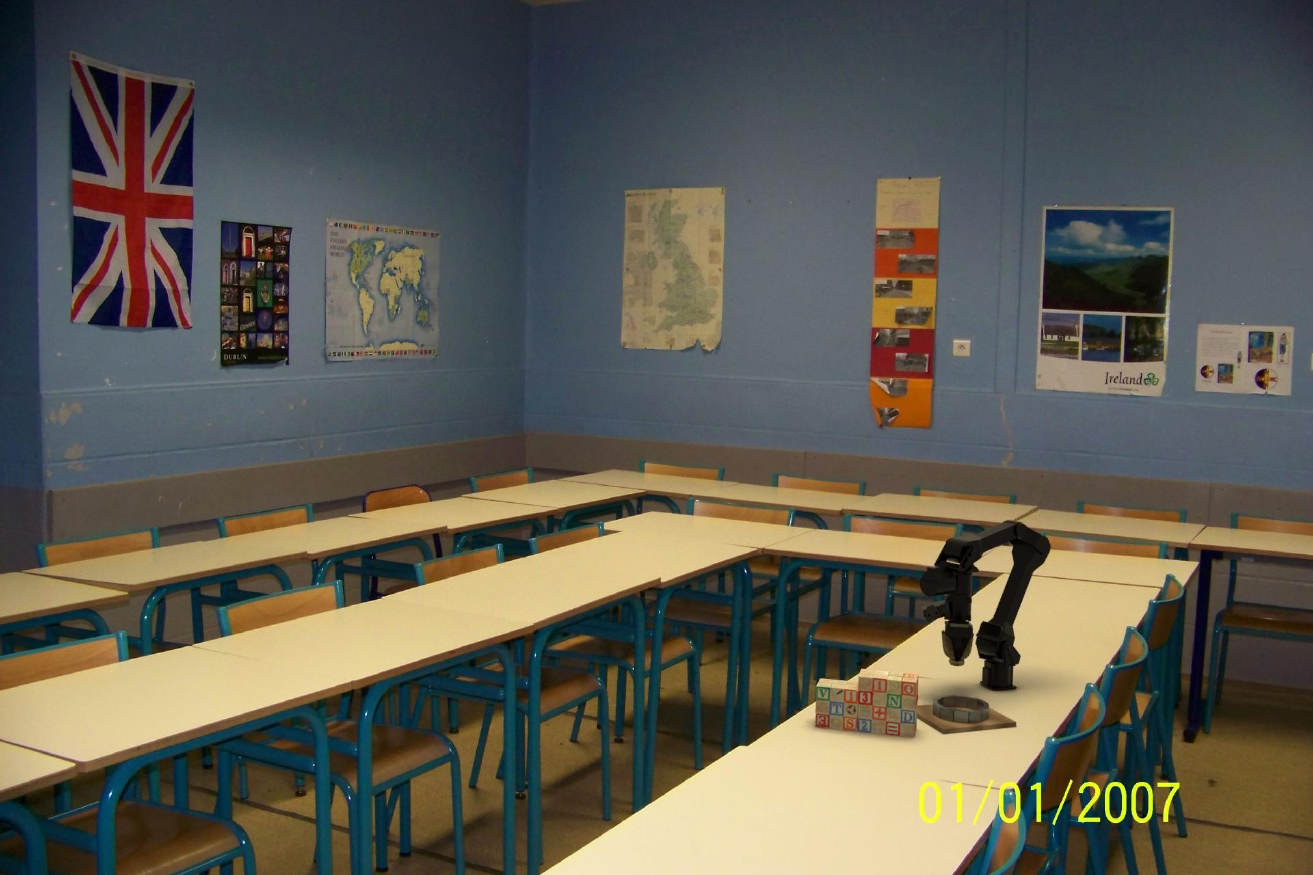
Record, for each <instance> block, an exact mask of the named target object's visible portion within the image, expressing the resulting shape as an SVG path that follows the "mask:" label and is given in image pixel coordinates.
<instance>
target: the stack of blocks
mask: <svg viewBox="0 0 1313 875" xmlns="http://www.w3.org/2000/svg"><path fill="white" fill-rule="evenodd" d="M818 680H819V681H818V682H817V684H816V685H815V717H814V719H815V721H814V725H815V727H817V728H825V729H832V730H840V731H841V730H842V731H848V732H849V731H850V732H860V733H869V734H876V735H877V734H878V735H885V736H887V735H888V736H894V737H895V736H897V737H903V738H904V737H906V738H915V736H916V732H917V726H918V724H917V723H918V718H917V706H918V702H919V674H914V673H913V674H912V673H905V672H902V671H894V670H893V671H892V670H889V671H888V670H875V669H865V668H861V669H860V672H859V675H858V681H848V680H841V679H831V678H830V679H829V678H828V679H827V678H819V679H818Z"/></svg>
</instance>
